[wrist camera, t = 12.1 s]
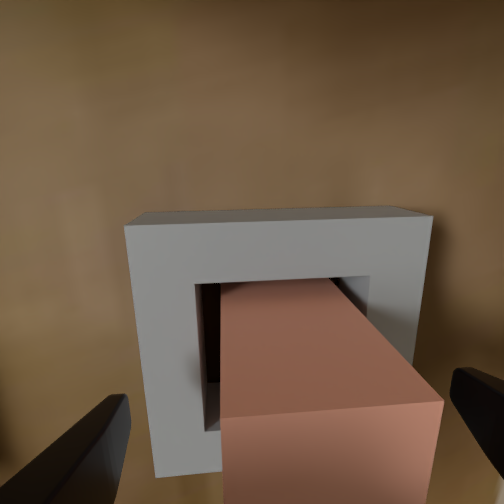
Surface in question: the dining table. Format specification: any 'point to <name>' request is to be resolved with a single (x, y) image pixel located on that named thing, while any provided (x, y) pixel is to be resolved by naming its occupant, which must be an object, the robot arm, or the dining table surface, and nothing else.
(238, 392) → the leg peg
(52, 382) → the dining table surface
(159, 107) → the dining table surface
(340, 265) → the socket
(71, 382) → the dining table surface
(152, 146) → the dining table surface
